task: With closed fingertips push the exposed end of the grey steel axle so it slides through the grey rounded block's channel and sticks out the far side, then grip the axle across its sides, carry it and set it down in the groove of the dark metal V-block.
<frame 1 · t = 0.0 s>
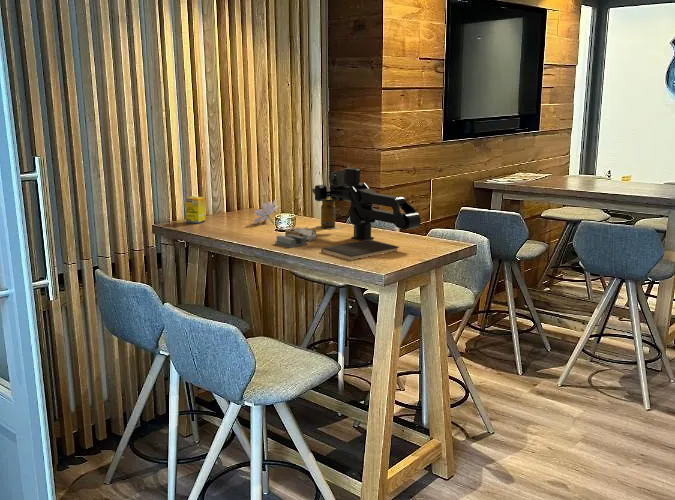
hand: (321, 189, 279), 17 cm above the table, tool horizontal, fingers open, 9 cm apart
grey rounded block: (300, 237, 265), on the table
condiment: (329, 227, 287), on the table
v block: (291, 244, 253), on the table
axle: (304, 239, 263), on the table
supplement box: (195, 223, 293), on the table
water lily: (265, 223, 294), on the table
hardcover book: (360, 253, 242), on the table
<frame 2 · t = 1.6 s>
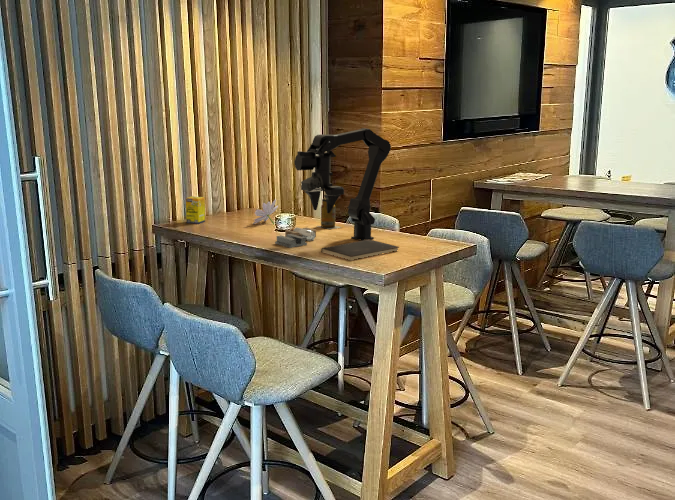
hand: (321, 211, 252), 12 cm above the table, tool pointing down, fingers open, 8 cm apart
axle: (304, 239, 263), on the table, tilted 11°
everything else where it was.
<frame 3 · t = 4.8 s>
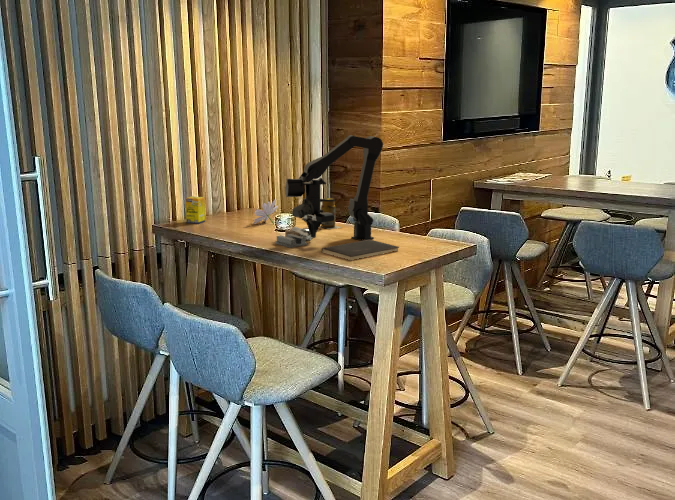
hand: (312, 237, 259), 2 cm above the table, tool pointing down, fingers closed
axle: (303, 238, 263), on the table, tilted 22°, touching gripper
everything else where it was.
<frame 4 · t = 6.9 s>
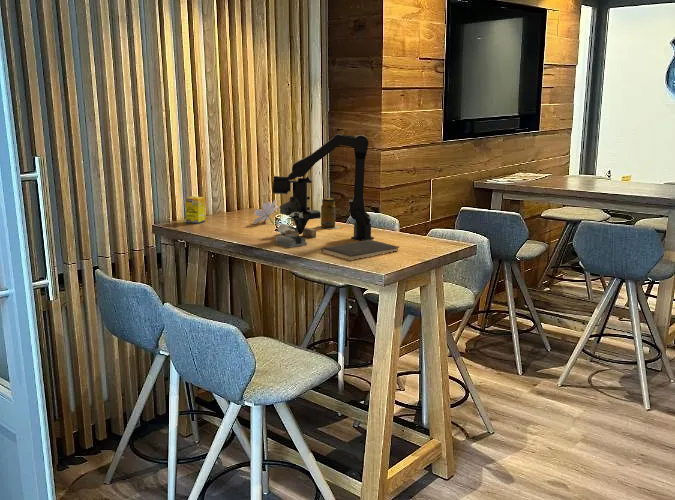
hand: (300, 233, 264), 1 cm above the table, tool pointing down, fingers closed
axle: (290, 234, 269), on the table, tilted 22°, touching gripper
everything else where it was.
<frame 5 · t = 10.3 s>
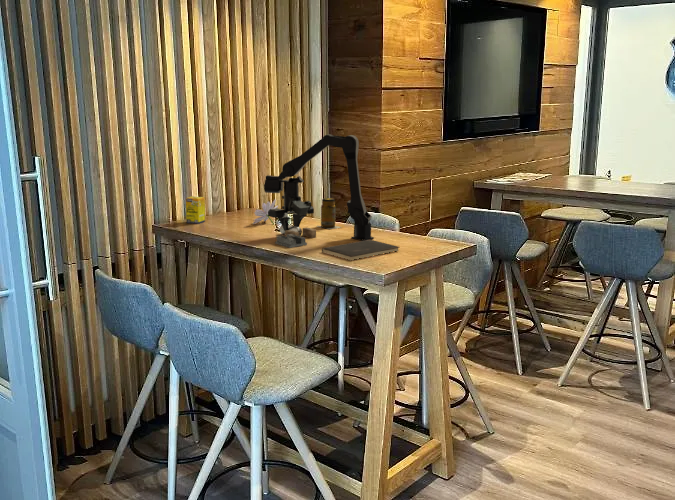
hand: (291, 232, 269), 1 cm above the table, tool pointing down, fingers closed on axle, 4 cm apart
axle: (290, 235, 269), on the table, touching gripper
everything else where it was.
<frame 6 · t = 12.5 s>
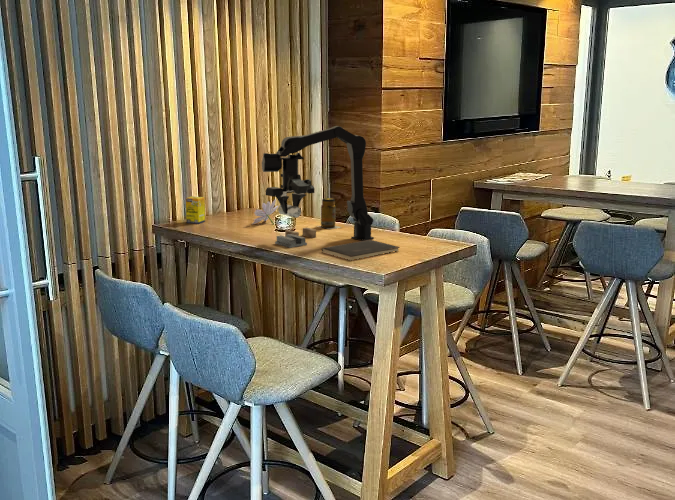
hand: (290, 213, 254), 11 cm above the table, tool pointing down, fingers closed on axle, 4 cm apart
axle: (289, 215, 255), point 10 cm above the table, touching gripper
everything else where it was.
when the fingers open (4 cm above the table, at t = 14.2 s): axle drops 1 cm, resting on v block.
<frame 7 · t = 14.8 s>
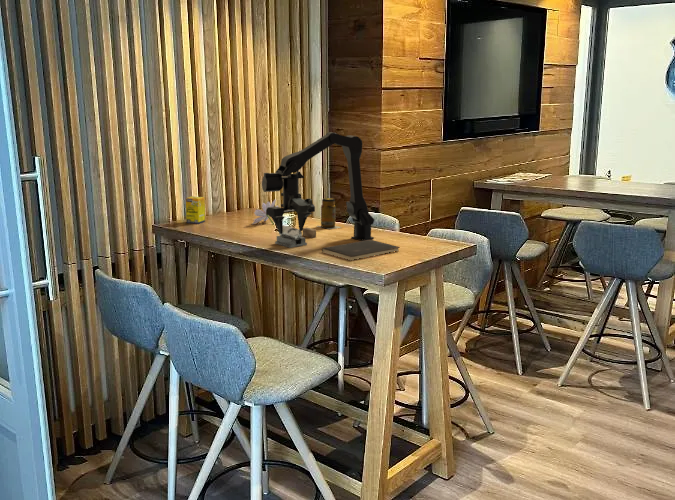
hand: (291, 232, 252), 4 cm above the table, tool pointing down, fingers open, 9 cm apart
axle: (290, 237, 253), point 2 cm above the table, tilted 6°, touching v block
everything else where it was.
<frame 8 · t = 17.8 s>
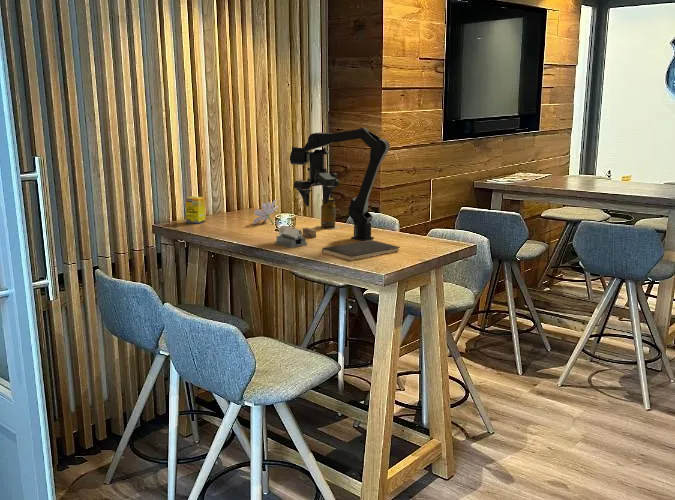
hand: (316, 205, 267), 12 cm above the table, tool pointing down, fingers open, 9 cm apart
nothing on the table moved.
at the end: axle inside the target area on the v block (0.5 cm from its centre), point 2.3 cm above the v block's base; the gripper is holding nothing; axle moved 10.8 cm from its start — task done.
